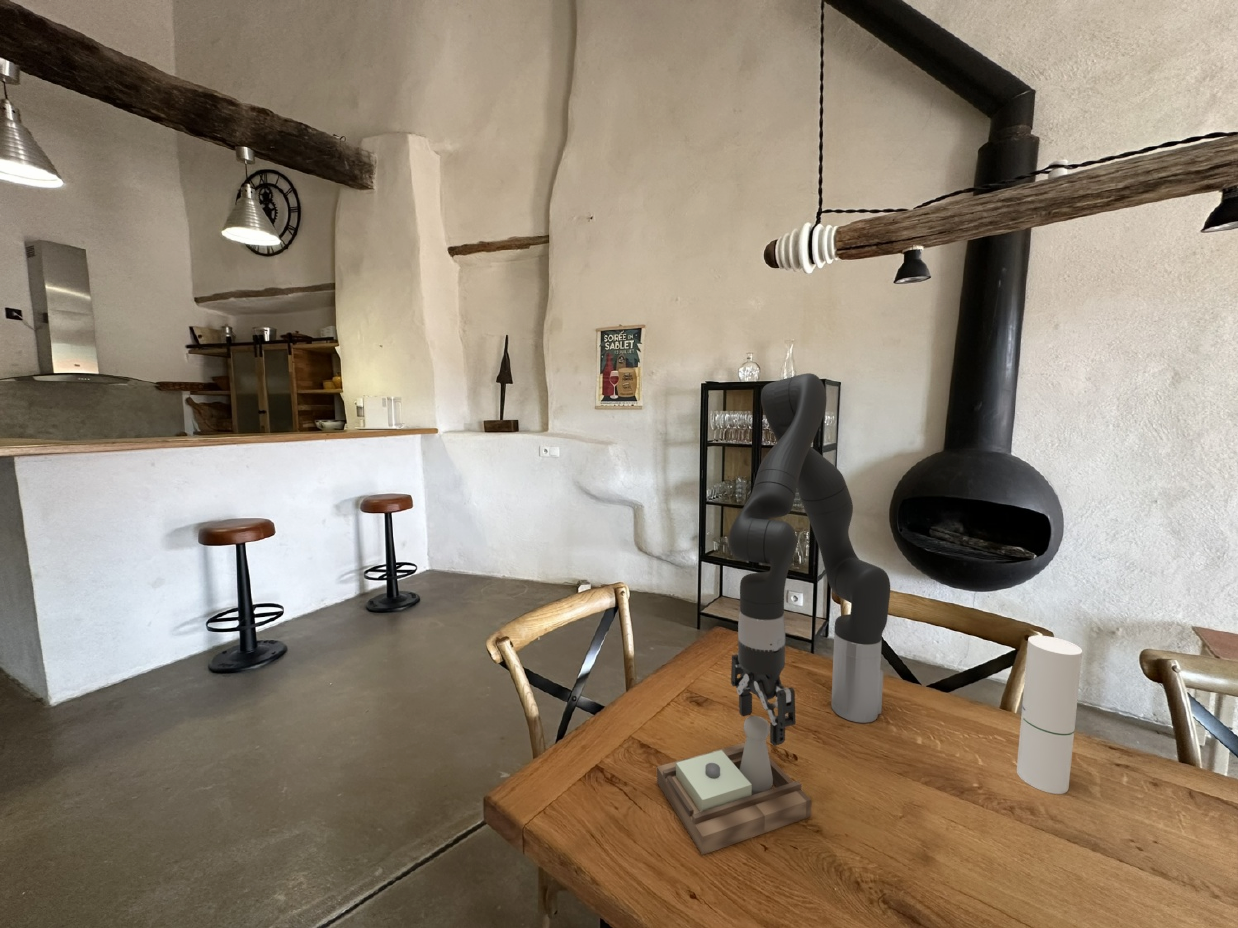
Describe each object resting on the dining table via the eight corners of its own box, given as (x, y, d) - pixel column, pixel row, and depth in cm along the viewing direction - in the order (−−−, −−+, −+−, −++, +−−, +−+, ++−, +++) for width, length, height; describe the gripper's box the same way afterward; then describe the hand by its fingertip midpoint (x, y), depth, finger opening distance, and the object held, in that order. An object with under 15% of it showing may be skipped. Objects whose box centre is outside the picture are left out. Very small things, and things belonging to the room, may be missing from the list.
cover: (721, 762, 92) (721, 744, 92) (751, 798, 84) (751, 778, 83) (675, 776, 89) (676, 757, 89) (702, 814, 81) (702, 793, 80)
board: (752, 754, 99) (752, 735, 99) (810, 816, 84) (811, 793, 84) (656, 782, 92) (656, 761, 92) (702, 854, 77) (702, 830, 77)
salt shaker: (769, 779, 92) (771, 711, 91) (775, 804, 87) (778, 731, 85) (735, 777, 93) (737, 709, 91) (740, 802, 87) (741, 729, 86)
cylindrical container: (1060, 771, 94) (1073, 639, 91) (1075, 798, 87) (1089, 658, 85) (1012, 760, 97) (1023, 632, 94) (1022, 786, 90) (1035, 649, 88)
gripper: (718, 624, 91) (718, 711, 93) (770, 661, 78) (769, 760, 80) (754, 617, 94) (753, 701, 96) (809, 651, 81) (807, 748, 83)
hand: (760, 728), depth 88 cm, fingers open, 8 cm apart
